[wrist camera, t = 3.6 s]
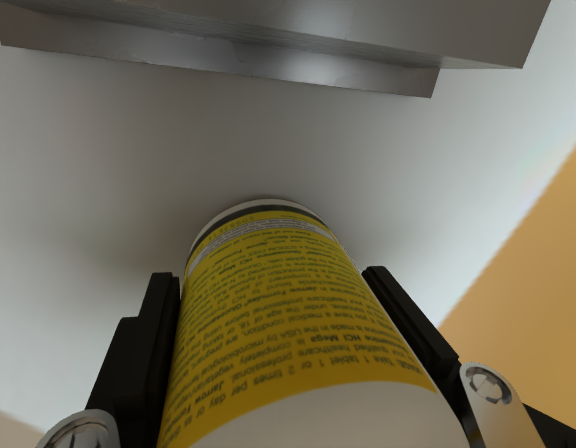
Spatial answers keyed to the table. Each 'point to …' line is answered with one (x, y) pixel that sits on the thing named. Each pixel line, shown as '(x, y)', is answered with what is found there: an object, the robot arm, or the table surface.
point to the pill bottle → (291, 346)
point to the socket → (288, 36)
